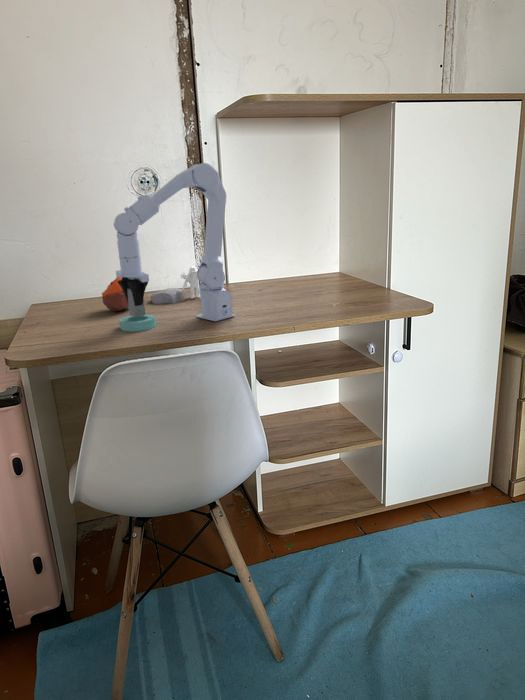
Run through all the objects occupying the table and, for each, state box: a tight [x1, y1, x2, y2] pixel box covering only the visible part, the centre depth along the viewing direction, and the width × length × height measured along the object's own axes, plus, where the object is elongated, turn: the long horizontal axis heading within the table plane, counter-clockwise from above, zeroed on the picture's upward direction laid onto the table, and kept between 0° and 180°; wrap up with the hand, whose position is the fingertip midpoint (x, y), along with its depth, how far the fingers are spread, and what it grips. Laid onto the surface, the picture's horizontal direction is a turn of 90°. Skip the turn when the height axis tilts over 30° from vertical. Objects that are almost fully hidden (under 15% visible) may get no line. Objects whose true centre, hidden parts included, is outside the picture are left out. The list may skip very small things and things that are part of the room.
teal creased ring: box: [119, 313, 157, 333], centre depth 157 cm, size 10×10×2 cm
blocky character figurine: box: [180, 262, 201, 299], centre depth 191 cm, size 9×4×12 cm, turn 101°
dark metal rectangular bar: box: [127, 288, 146, 317], centre depth 155 cm, size 3×3×8 cm
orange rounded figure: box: [101, 277, 129, 312], centre depth 178 cm, size 12×10×11 cm
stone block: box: [150, 287, 186, 305], centre depth 191 cm, size 12×5×10 cm
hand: (135, 304), depth 155 cm, fingers closed on dark metal rectangular bar, 3 cm apart
